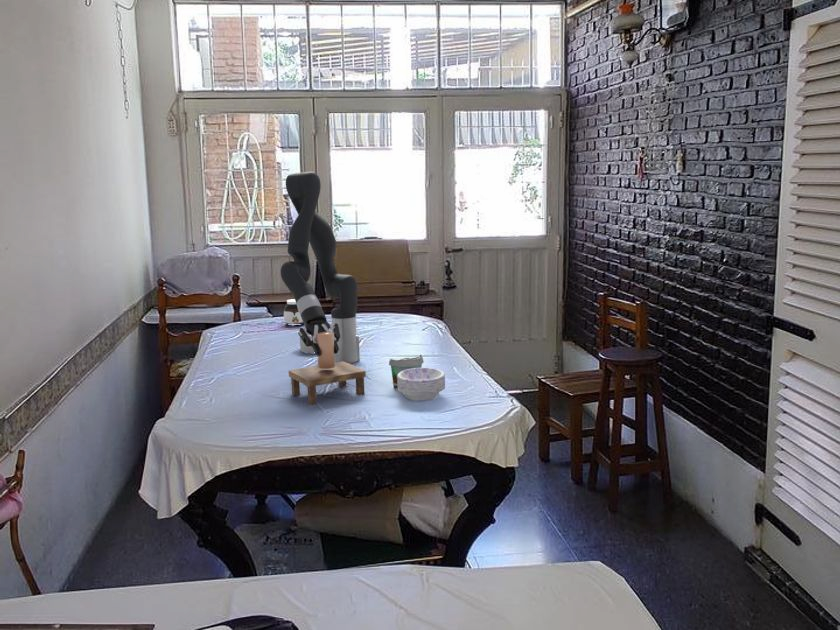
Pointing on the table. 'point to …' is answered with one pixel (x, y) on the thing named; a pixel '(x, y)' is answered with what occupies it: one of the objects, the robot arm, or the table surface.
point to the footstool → (326, 378)
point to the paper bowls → (421, 383)
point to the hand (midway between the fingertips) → (328, 353)
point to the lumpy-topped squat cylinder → (304, 347)
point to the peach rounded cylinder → (326, 350)
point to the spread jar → (292, 313)
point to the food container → (404, 366)
